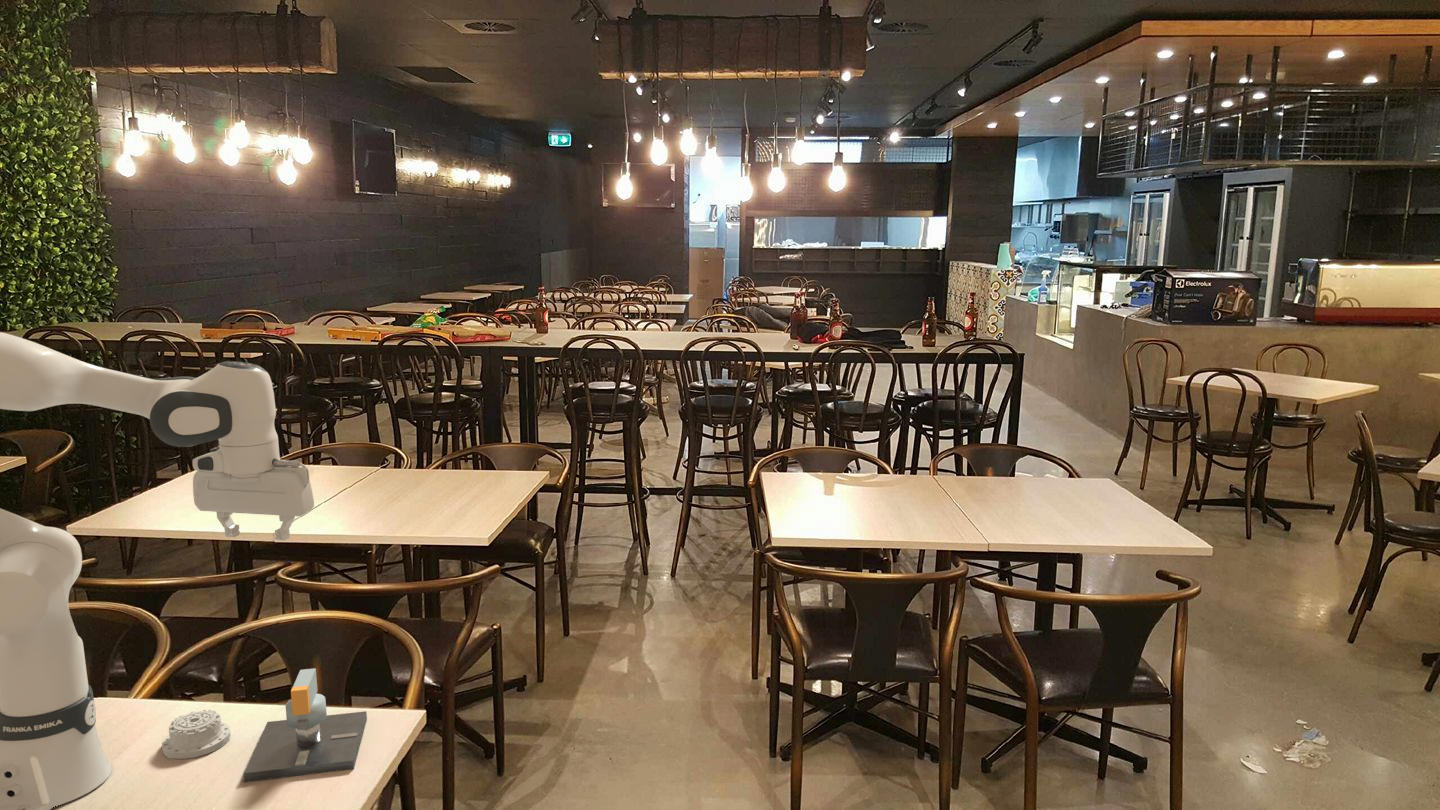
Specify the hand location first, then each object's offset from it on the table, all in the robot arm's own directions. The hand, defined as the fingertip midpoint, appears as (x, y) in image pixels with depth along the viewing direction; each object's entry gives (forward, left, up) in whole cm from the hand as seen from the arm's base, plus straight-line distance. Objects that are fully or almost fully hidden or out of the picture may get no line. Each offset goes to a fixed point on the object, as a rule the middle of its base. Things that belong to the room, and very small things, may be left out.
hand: (257, 537), depth 158 cm
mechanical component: (-11, -6, -34) cm, 36 cm away
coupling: (+8, -12, -28) cm, 31 cm away
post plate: (+8, -12, -33) cm, 36 cm away
